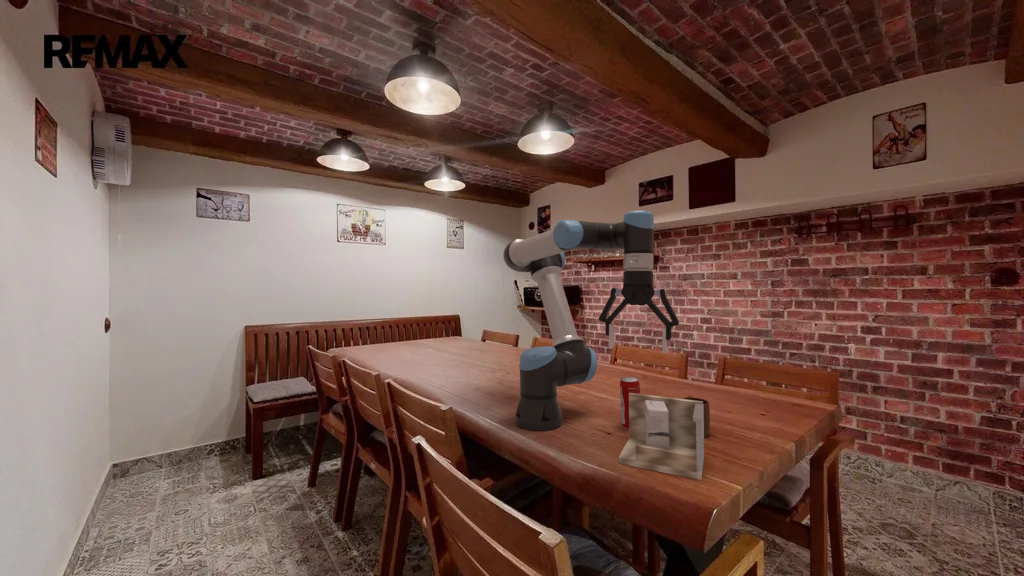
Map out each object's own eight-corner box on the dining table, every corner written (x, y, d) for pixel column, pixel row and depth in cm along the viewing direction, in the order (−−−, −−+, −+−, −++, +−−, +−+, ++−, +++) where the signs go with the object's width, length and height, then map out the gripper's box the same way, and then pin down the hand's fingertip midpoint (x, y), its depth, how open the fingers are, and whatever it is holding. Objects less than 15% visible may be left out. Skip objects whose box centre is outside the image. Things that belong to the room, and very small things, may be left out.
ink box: (670, 460, 90) (669, 411, 90) (648, 458, 91) (647, 409, 91) (665, 445, 98) (664, 400, 98) (645, 444, 99) (644, 399, 99)
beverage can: (642, 425, 117) (641, 376, 117) (639, 432, 111) (639, 381, 111) (622, 422, 119) (621, 375, 119) (619, 429, 113) (618, 379, 113)
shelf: (618, 463, 92) (618, 407, 92) (630, 441, 105) (629, 392, 105) (701, 480, 84) (700, 419, 83) (703, 454, 96) (702, 401, 96)
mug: (676, 422, 119) (676, 392, 119) (702, 424, 117) (702, 393, 117) (683, 437, 108) (683, 403, 108) (713, 439, 106) (712, 405, 106)
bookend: (693, 470, 85) (692, 417, 85) (696, 449, 96) (695, 402, 96) (702, 471, 84) (701, 418, 84) (704, 451, 95) (703, 403, 95)
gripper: (588, 270, 103) (587, 347, 104) (688, 269, 91) (687, 357, 92) (595, 270, 110) (595, 343, 110) (690, 270, 98) (689, 351, 98)
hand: (637, 350), depth 101 cm, fingers open, 13 cm apart
